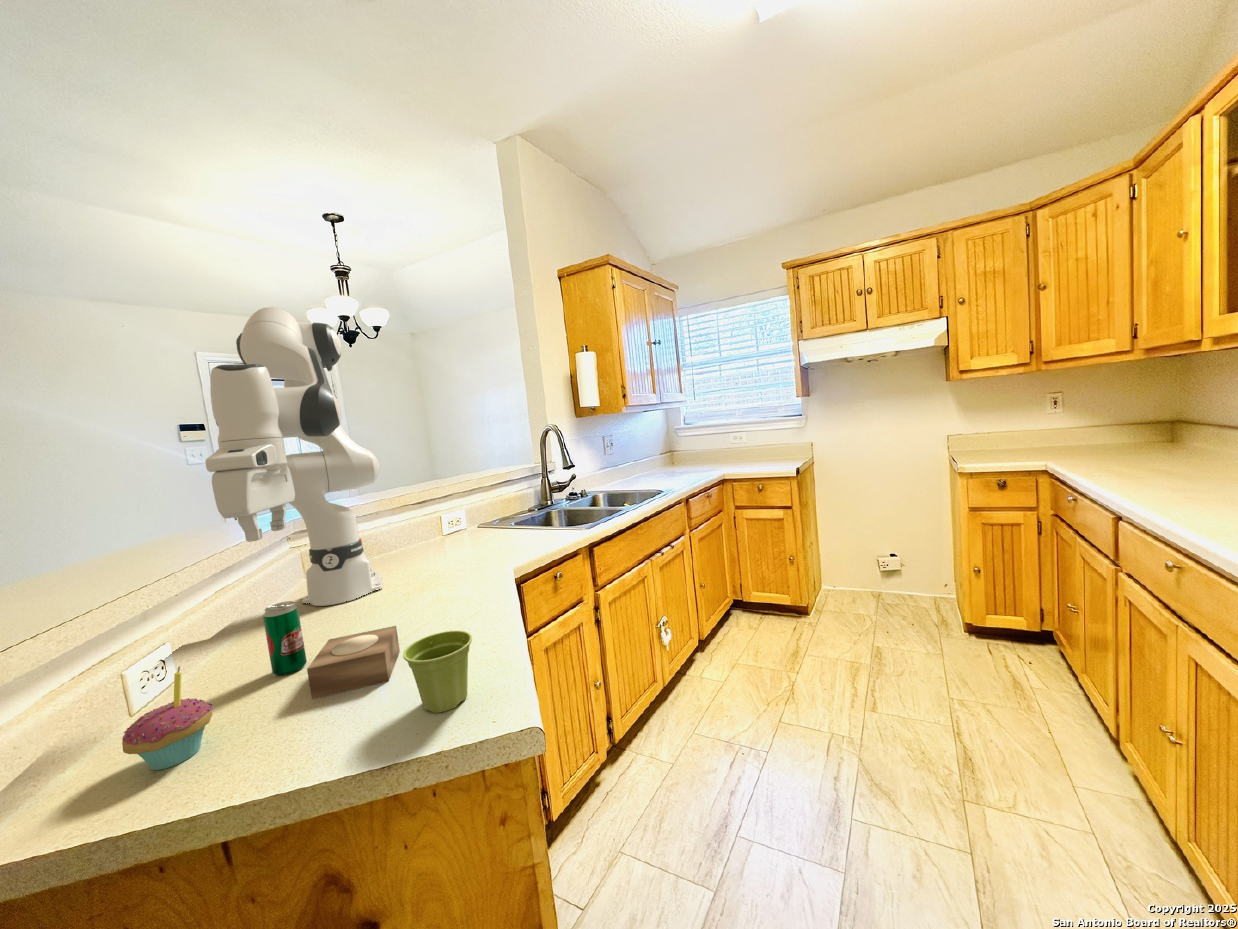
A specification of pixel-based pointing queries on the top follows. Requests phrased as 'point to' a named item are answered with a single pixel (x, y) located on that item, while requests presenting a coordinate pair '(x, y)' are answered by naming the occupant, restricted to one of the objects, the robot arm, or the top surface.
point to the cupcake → (169, 731)
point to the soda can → (284, 638)
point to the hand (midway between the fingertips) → (267, 535)
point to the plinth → (354, 662)
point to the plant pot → (440, 668)
